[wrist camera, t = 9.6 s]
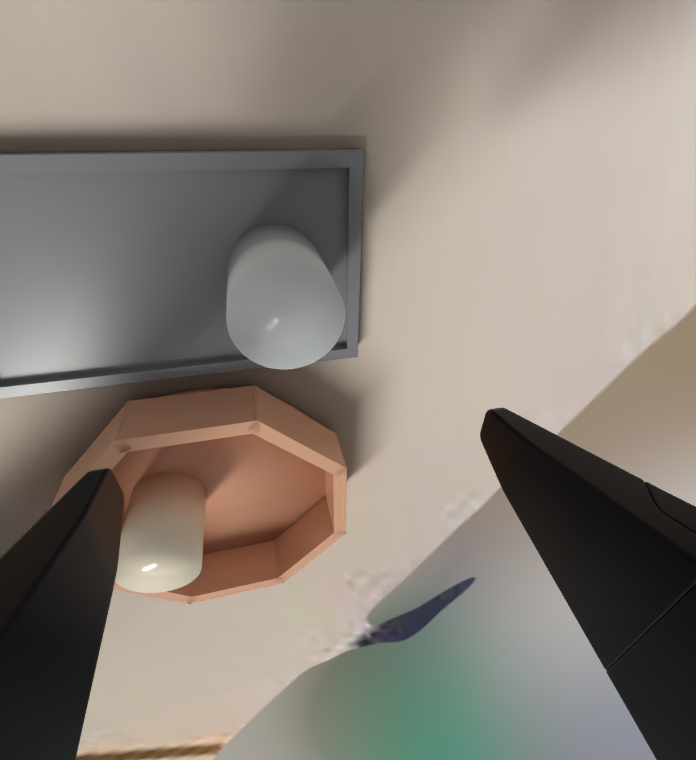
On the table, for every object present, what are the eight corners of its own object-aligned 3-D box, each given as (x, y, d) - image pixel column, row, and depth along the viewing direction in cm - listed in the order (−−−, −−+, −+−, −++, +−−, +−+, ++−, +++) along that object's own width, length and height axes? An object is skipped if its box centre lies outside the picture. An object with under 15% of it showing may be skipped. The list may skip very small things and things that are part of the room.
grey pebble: (235, 318, 20) (236, 375, 16) (219, 226, 17) (215, 266, 13) (323, 310, 20) (344, 362, 16) (320, 221, 18) (345, 258, 14)
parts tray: (-6, 389, 19) (-14, 399, 19) (-156, 154, 13) (-176, 157, 13) (354, 349, 23) (357, 356, 22) (359, 148, 17) (364, 150, 16)
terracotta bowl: (128, 568, 29) (117, 620, 26) (32, 404, 20) (-1, 456, 17) (335, 527, 32) (345, 569, 29) (334, 368, 23) (348, 406, 20)
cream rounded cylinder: (212, 510, 27) (208, 582, 23) (142, 523, 26) (126, 600, 22) (199, 466, 24) (192, 538, 20) (121, 478, 23) (98, 556, 20)
